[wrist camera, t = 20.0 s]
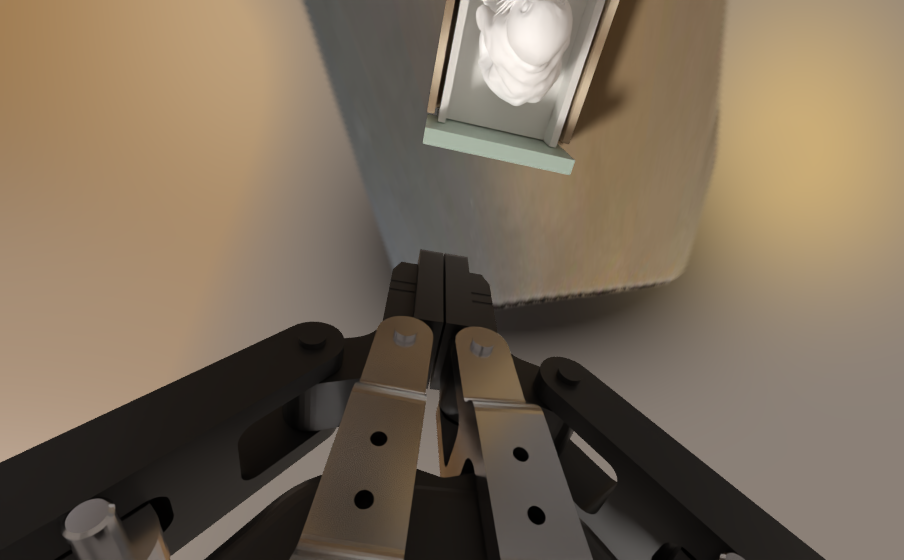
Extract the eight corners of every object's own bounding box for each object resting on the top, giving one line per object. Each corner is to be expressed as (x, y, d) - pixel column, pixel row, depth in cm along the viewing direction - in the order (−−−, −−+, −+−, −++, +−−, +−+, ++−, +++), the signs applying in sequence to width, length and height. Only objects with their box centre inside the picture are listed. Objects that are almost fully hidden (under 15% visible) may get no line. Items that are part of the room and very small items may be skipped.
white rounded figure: (482, 105, 35) (498, 135, 25) (467, -15, 31) (480, -39, 21) (556, 92, 35) (603, 116, 25) (551, -32, 31) (606, -65, 20)
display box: (556, 133, 39) (569, 144, 35) (428, 103, 37) (426, 111, 33) (622, -68, 31) (648, -83, 28) (466, -116, 30) (470, -138, 26)
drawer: (552, 155, 39) (569, 175, 33) (425, 127, 37) (422, 143, 32) (615, -34, 31) (651, -48, 26) (461, -78, 30) (465, -103, 25)
